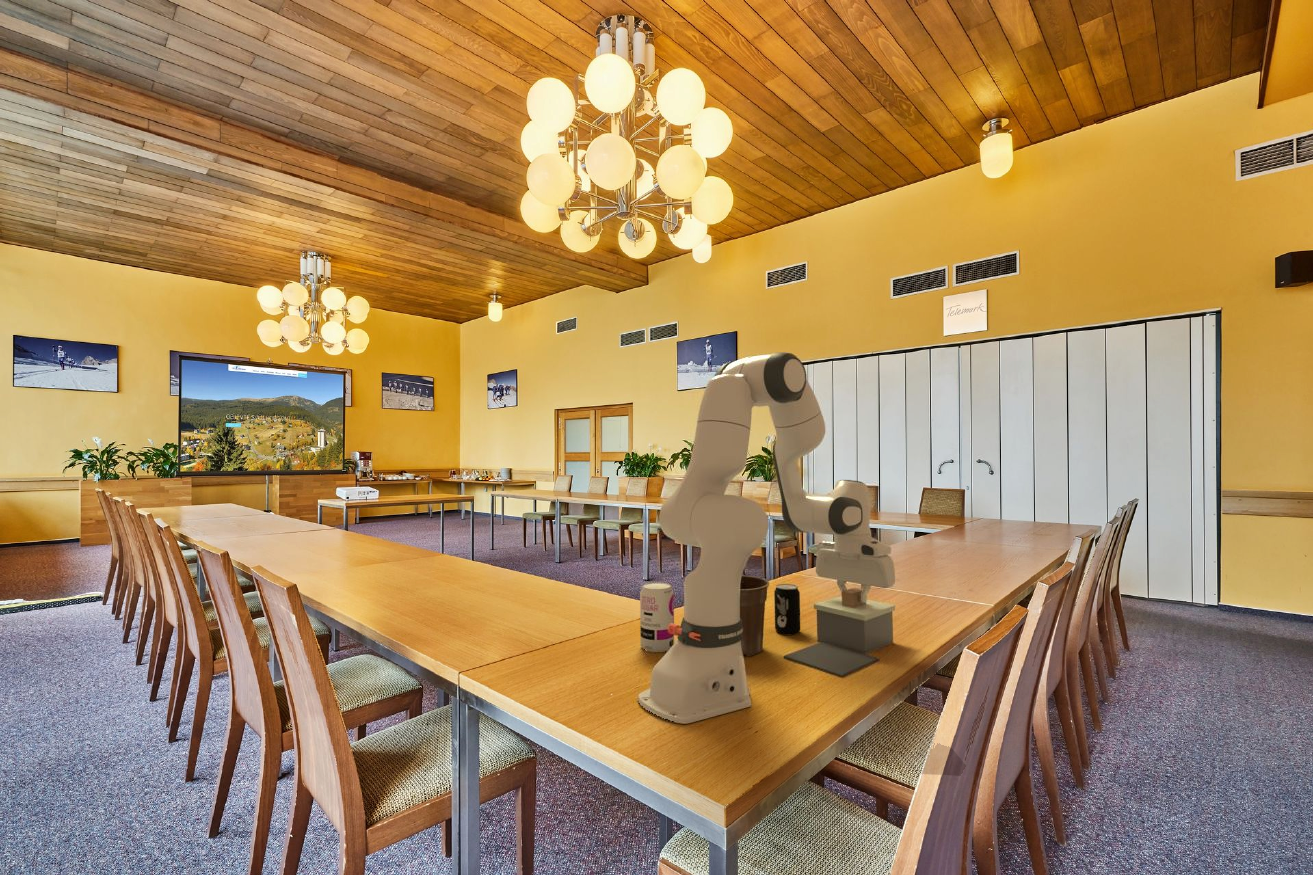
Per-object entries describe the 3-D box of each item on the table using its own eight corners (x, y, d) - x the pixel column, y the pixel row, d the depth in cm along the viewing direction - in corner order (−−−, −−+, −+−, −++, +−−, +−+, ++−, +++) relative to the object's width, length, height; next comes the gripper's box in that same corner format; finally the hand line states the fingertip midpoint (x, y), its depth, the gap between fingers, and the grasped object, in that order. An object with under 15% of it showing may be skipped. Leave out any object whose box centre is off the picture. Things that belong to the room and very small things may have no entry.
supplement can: (675, 642, 140) (674, 582, 140) (672, 653, 132) (672, 589, 132) (643, 641, 141) (642, 581, 141) (638, 653, 132) (638, 589, 133)
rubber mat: (841, 677, 117) (841, 674, 117) (783, 657, 128) (783, 655, 128) (878, 660, 126) (878, 658, 126) (821, 643, 138) (821, 641, 138)
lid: (865, 625, 130) (864, 600, 130) (813, 612, 140) (813, 589, 141) (895, 614, 138) (894, 590, 139) (844, 603, 149) (844, 581, 149)
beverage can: (803, 635, 144) (802, 588, 145) (777, 635, 144) (776, 589, 145) (797, 627, 151) (796, 583, 151) (772, 628, 151) (772, 583, 152)
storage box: (865, 654, 130) (864, 619, 130) (817, 640, 140) (816, 608, 140) (893, 642, 138) (892, 609, 139) (846, 630, 148) (845, 600, 149)
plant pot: (691, 653, 132) (691, 585, 132) (717, 634, 146) (716, 572, 147) (758, 665, 124) (757, 592, 125) (778, 643, 138) (777, 578, 139)
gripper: (810, 541, 146) (811, 594, 146) (884, 550, 130) (885, 610, 130) (824, 538, 150) (825, 590, 150) (897, 547, 134) (899, 605, 134)
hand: (853, 600), depth 140 cm, fingers closed on lid, 3 cm apart
